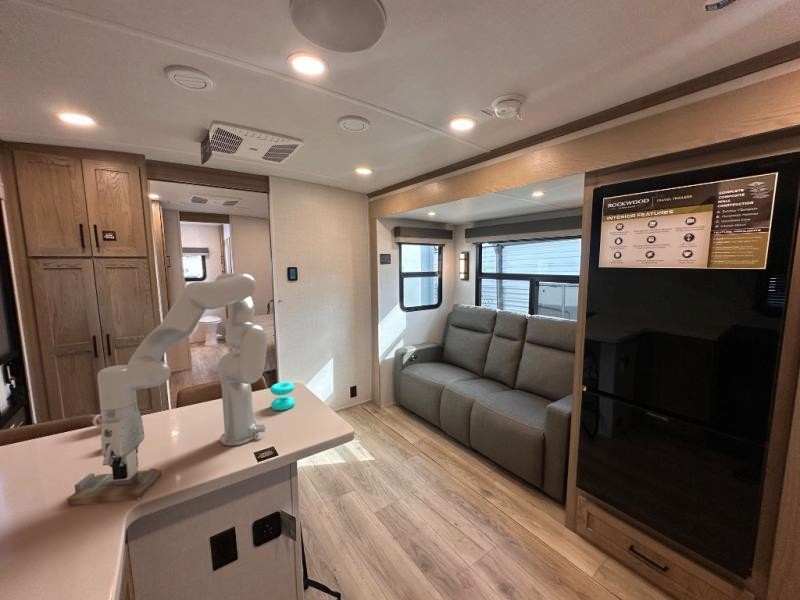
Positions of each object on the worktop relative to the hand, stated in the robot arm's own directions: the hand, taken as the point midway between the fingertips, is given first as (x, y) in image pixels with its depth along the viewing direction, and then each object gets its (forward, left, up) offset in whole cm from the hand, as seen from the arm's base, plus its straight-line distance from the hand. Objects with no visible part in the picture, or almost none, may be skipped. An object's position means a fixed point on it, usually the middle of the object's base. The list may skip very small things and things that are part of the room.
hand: (126, 473), depth 90 cm
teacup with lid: (+30, -40, -5) cm, 51 cm away
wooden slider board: (+2, 0, -5) cm, 5 cm away
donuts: (-32, -50, -5) cm, 59 cm away
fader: (0, 0, -2) cm, 2 cm away
